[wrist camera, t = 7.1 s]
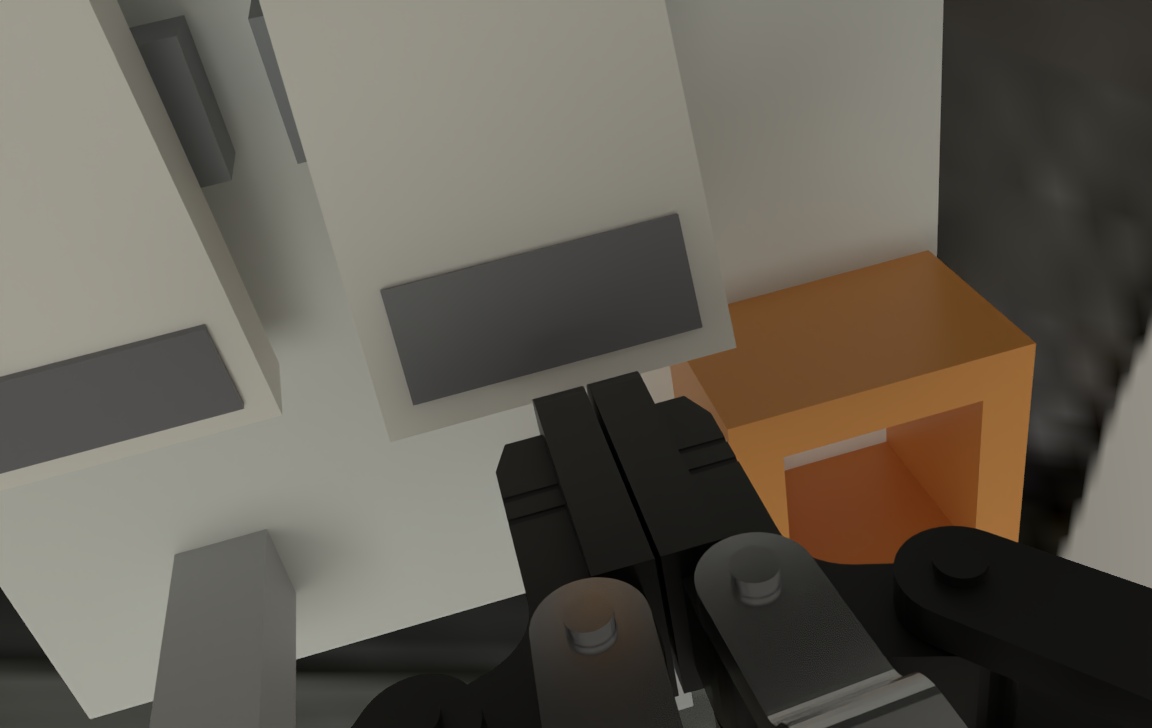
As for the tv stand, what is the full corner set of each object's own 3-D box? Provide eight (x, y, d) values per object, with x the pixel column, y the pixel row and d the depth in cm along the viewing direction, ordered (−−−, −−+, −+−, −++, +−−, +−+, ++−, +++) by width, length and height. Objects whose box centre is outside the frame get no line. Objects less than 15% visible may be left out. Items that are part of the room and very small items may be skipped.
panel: (-609, -363, 13) (-1245, -411, 8) (938, -651, 15) (1298, -851, 10) (94, 699, 25) (36, 977, 19) (919, 460, 27) (1077, 654, 21)
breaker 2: (200, -232, 15) (177, -272, 14) (576, -310, 16) (593, -357, 14) (392, 418, 17) (390, 445, 16) (712, 331, 18) (739, 349, 16)
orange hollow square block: (663, 321, 22) (727, 429, 19) (928, 250, 23) (1035, 343, 19) (693, 528, 25) (752, 651, 22) (924, 462, 26) (1015, 572, 23)
